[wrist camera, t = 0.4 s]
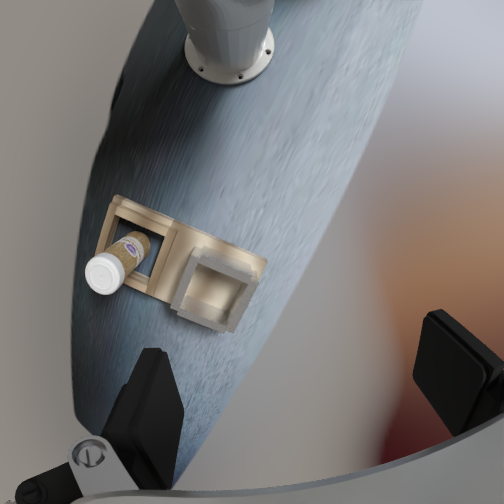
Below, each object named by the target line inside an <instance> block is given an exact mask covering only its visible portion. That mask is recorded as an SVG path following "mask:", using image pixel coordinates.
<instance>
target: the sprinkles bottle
mask: <svg viewBox="0 0 504 504" xmlns="http://www.w3.org/2000/svg"><path fill="white" fill-rule="evenodd" d="M150 248H151V247H150V241H149V239H148V237H147V236H146V235H145V234H143V233H142V232H138V231H133V232H130V233H128V234H127V235H126V236H125V237H123V238H122V239H120V240H119V241H117V242H116V243H114V244H113V245H112V246H110V247H109V248H107V249H106V250H105V251H104V252H103V253H100V254H98V255H96V256H95V257H93V258H92V259H91V260H90V261H89V262H88V263H87V265H86V269H85V277H86V280H87V282H88V284H89V286H90V287H91V288H92V289H93V290H94V291H95V292H97V293H99V294H103V295H109V294H112V293H114V292H115V291H116V290H117V289H118V288H119V287H120V286H121V285H122V283H123V281H124V279H125V278H126V277H127V276H128V275H129V274H130V273H131V272H132V271H133V270H134V269H135V268H136V267H137V266H138V264H139V263H140V262H141V261H142V260H143V259H144V258H146V257H147V256H148V254H149V252H150Z"/></svg>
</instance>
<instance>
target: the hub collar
mask: <svg viewBox="0 0 504 504" xmlns="http://www.w3.org/2000/svg"><path fill="white" fill-rule="evenodd" d="M198 263H199V264H202V265H204V266H206V267H209V268H211V269H214V270H216V271H218V272H221V273H223V274H225V275H228V276H230V277H233V278H235V279H237V280H240V281H242V284H241V286H240V288H239V290H238V292H237V294H236V296H235V299H234V301H233V303H232V305H231V307H230V309H229V311H228V312H227V311H225V310H222V309H220V308H217V307H215V306H212V305H210V304H207V303H205V302H202V301H200V300H198V299H195V298H193V297H190V296H188V295H186V294H185V293H186V291H187V288H188V286H189V283H190V281H191V278H192V276H193V274H194V271H195V269H196V267H197V264H198ZM258 284H259V282H258V276H257V271H254V270H252V269H251V265H250V264H248V263H246V262H243V261H241V260H239V259H236V258H234V257H232V256H229V255H227V254H225V253H222V252H220V251H218V250H215V249H213V248H211V247H208V246H206V245H205V247H204V249H203V248H200V247H198V246H195V248H194V250H193V252H192V254H191V256H190V259H189V261H188V264H187V266H186V269H185V271H184V274H183V276H182V279H181V281H180V284H179V286H178V289H177V291H176V294H175V296H174V299H173V301H172V304H171V307H170V308H172V309H174V310H176V311H178V313H177V315H179V316H181V317H183V318H186V319H188V320H191V321H193V322H196V323H198V324H201V325H203V326H206V327H208V328H211V329H213V330H216V331H219V332H221V333H224V332H225V330H226V331H229V332H232V333H234V331H235V329H236V327H237V325H238V323H239V321H240V319H241V318H242V316H243V314H244V312H245V310H246V308H247V306H248V304H249V302H250V300H251V298H252V296H253V294H254V292H255V290H256V288H257V286H258Z"/></svg>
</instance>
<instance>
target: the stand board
mask: <svg viewBox="0 0 504 504" xmlns="http://www.w3.org/2000/svg"><path fill="white" fill-rule="evenodd" d="M120 217H122V218H124V219H126V220H129V221H131V222H133V223H135V224H138V225H140V226H142V227H144V228H147V229H149V230H151V231H153V232H156V233H158V234H160V235H163V236H165V239H164V241H163V244H162V247H161V249H160V252H159V255H158V257H157V260H156V263H155V266H154V268H153V271H152V274H151V277H148V276H145V275H143V274H141V273H139V272H137V271H134V270H133V271H132V272H131V273H130V274H129V275H128V276H127V277H126V278H125V279H124V281H123V283H124V284H126V285H128V286H131V287H133V288H135V289H137V290H139V291H142V292H144V293H146V294H148V295H151V296H153V297H155V298H158V299H160V300H162V301H165V302H167V303H169V304H172V301H173V299H174V296H175V294H176V291H177V289H178V286H179V284H180V281H181V279H182V276H183V274H184V271H185V269H186V266H187V264H188V261H189V259H190V256H191V254H192V252H193V250H194V248H195V246H198V247H200V248H203V249H204V247H205V245H206V246H208V247H211V248H213V249H215V250H218V251H220V252H222V253H225V254H227V255H229V256H232V257H234V258H236V259H239V260H241V261H243V262H246V263H248V264H250V265H251V269H252V270H254V271H257V276H258V280H259V278H260V276H261V274H262V272H263V270H264V269H265V267H266V265H267V263H268V262H267V259H265V258H263V257H261V256H258V255H256V254H254V253H252V252H249V251H247V250H245V249H242V248H240V247H238V246H235V245H233V244H231V243H228V242H226V241H224V240H222V239H219V238H217V237H215V236H212V235H210V234H208V233H205V232H203V231H201V230H199V229H196V228H194V227H192V226H189V225H187V224H185V223H182V222H180V221H178V220H175V219H173V218H171V217H169V216H166V215H164V214H162V213H159V212H157V211H155V210H152V209H150V208H148V207H146V206H143V205H141V204H139V203H136V202H134V201H132V200H129V199H127V198H125V197H122V196H120V195H115V196H114V198H113V201H112V203H110V205H109V208H108V211H107V214H106V218H105V221H104V224H103V227H102V231H101V234H100V238H99V241H98V245H97V249H96V252H95V256H96V255H98V254H100V253H103V252H104V251H105V250H106V249H107V248H109V247H110V246H111V244H112V241H113V238H114V235H115V231H116V228H117V225H118V222H119V219H120ZM95 256H94V257H95ZM241 284H242V281H240V280H237V279H235V278H233V277H230V276H228V275H225V274H223V273H221V272H218V271H216V270H214V269H211V268H209V267H206V266H204V265H202V264H199V263H198V264H197V267H196V269H195V271H194V274H193V276H192V278H191V281H190V283H189V286H188V288H187V291H186V293H185V294H186V295H188V296H190V297H193V298H195V299H198V300H200V301H202V302H205V303H207V304H210V305H212V306H215V307H217V308H220V309H222V310H225V311H227V312H228V311H229V309H230V307H231V305H232V303H233V301H234V299H235V296H236V294H237V292H238V290H239V288H240V286H241Z"/></svg>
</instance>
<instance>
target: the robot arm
mask: <svg viewBox="0 0 504 504" xmlns="http://www.w3.org/2000/svg"><path fill="white" fill-rule="evenodd" d="M175 2H176V4H177V6H178V9H179V11H180V14H181V16H182V19H183V21H184V24H185V26H186V28H187V31H188V35H187V37H186V41H185V56H186V59H187V61H188V63H189V65H190V67H191V68H192V69H193V70H194V72H195V73H196V74H198V75H199V76H200V77H202V78H203V79H205V80H207V81H209V82H213V83H216V84H223V85H235V84H240V83H244V82H247V81H249V80H252V79H253V78H255V77H257V76H258V75H260V74H261V73H262V72H263V71H264V70H265V69H266V68H267V66H268V65H269V64H270V62H271V60H272V57H273V55H274V49H275V41H274V36H273V34H272V31H271V30H270V28H269V23H270V19H271V15H272V11H273V7H274V3H275V0H175ZM266 53H269V55H267V54H266ZM200 70H203V72H200ZM239 77H242V79H239ZM503 368H504V361H503V360H501V359H500V358H499V357H498V356H497V355H496V354H495V353H494V352H493V351H491V350H490V349H489V348H488V347H487V346H486V345H485V344H483V343H482V342H481V341H480V340H479V339H477V338H476V337H475V336H474V335H473V334H472V333H471V332H469V331H468V330H467V329H466V328H465V327H464V326H462V325H461V324H460V323H459V322H458V321H456V320H455V319H454V318H453V317H451V316H450V315H449V314H448V313H447V312H445V311H444V310H442V309H439V310H435V311H431V312H429V313H428V314H427V315H426V317H425V318H424V320H423V325H422V331H421V336H420V341H419V346H418V351H417V356H416V361H415V365H414V369H413V379H414V381H415V383H416V384H417V385H418V387H419V388H420V390H421V391H422V392H423V394H424V395H425V397H426V398H427V399H428V401H429V402H430V404H431V405H432V407H433V408H434V409H435V411H436V412H437V414H438V415H439V417H440V418H441V419H442V421H443V422H444V424H445V425H446V427H447V428H448V430H449V431H450V433H451V434H452V435H453V436H454V438H452V439H450V440H447V441H445V442H443V443H440V444H438V445H436V446H433V447H431V448H428V449H426V450H423V451H420V452H418V453H415V454H412V455H410V456H407V457H404V458H401V459H398V460H395V461H392V462H389V463H386V464H383V465H379V466H376V467H372V468H369V469H365V470H362V471H357V472H354V473H349V474H346V475H341V476H337V477H332V478H327V479H322V480H317V481H311V482H306V483H299V484H292V485H285V486H277V487H268V488H257V489H243V490H221V491H181V490H166V489H170V488H171V487H172V482H173V475H174V469H175V463H176V458H177V452H178V446H179V440H180V435H181V429H182V424H183V418H184V407H183V404H182V401H181V398H180V395H179V392H178V389H177V385H176V382H175V379H174V376H173V372H172V369H171V365H170V362H169V358H168V355H167V353H166V352H162V350H161V349H160V348H144V349H143V350H142V352H141V355H140V357H139V359H138V361H137V363H136V365H135V367H134V370H133V372H132V374H131V376H130V378H129V381H128V383H127V384H125V385H123V387H122V388H121V390H120V393H119V395H118V397H117V399H116V401H115V404H114V406H113V408H112V410H111V412H110V415H109V417H108V419H107V422H106V424H105V426H104V428H103V431H102V433H101V435H100V437H99V436H86V437H82V438H80V439H78V440H77V441H75V442H74V443H73V444H72V445H71V447H70V448H69V450H68V455H67V457H68V462H67V463H65V464H62V465H60V466H58V467H56V468H53V469H51V470H49V471H46V472H44V473H42V474H40V475H37V476H35V477H32V478H30V479H27V480H25V481H24V482H22V483H21V484H20V485H19V486H18V488H17V490H16V493H15V500H16V501H14V502H13V503H12V502H11V501H10V500H9V501H7V502H6V503H5V504H504V370H503Z"/></svg>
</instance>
